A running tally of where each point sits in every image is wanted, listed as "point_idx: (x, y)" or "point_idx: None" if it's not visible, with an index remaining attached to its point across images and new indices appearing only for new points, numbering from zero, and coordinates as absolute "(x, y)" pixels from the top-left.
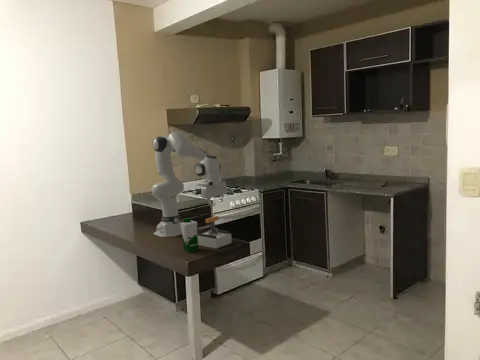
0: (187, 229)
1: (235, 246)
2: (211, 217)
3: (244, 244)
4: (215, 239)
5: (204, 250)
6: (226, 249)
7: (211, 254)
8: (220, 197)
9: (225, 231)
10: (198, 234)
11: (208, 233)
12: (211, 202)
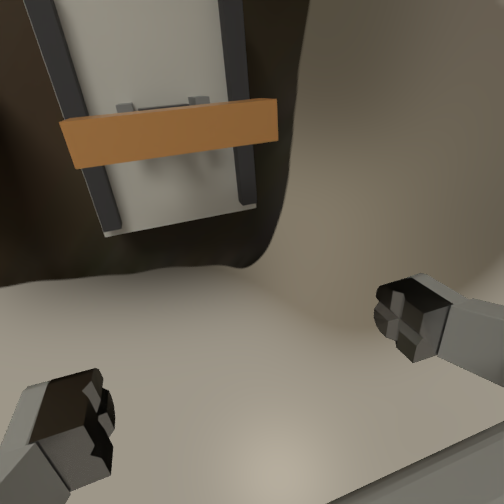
0: None
1: (206, 258)
2: (182, 114)
3: (253, 263)
4: (104, 233)
5: (23, 186)
6: (143, 266)
7: (27, 281)
8: (495, 326)
9: (242, 180)
10: (27, 5)
11: (154, 37)
12: (83, 466)
